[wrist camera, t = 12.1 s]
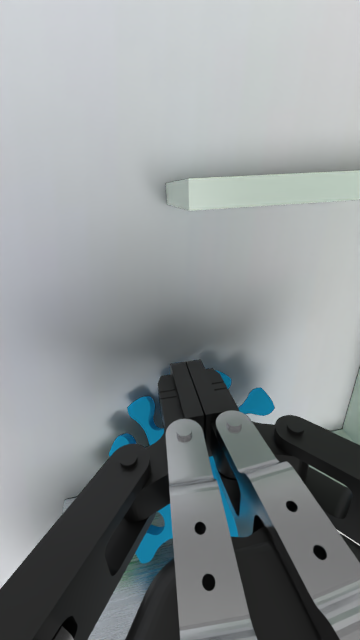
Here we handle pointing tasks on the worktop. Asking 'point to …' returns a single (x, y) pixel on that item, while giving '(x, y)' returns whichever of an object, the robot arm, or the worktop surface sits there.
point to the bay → (270, 193)
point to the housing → (129, 589)
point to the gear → (253, 404)
